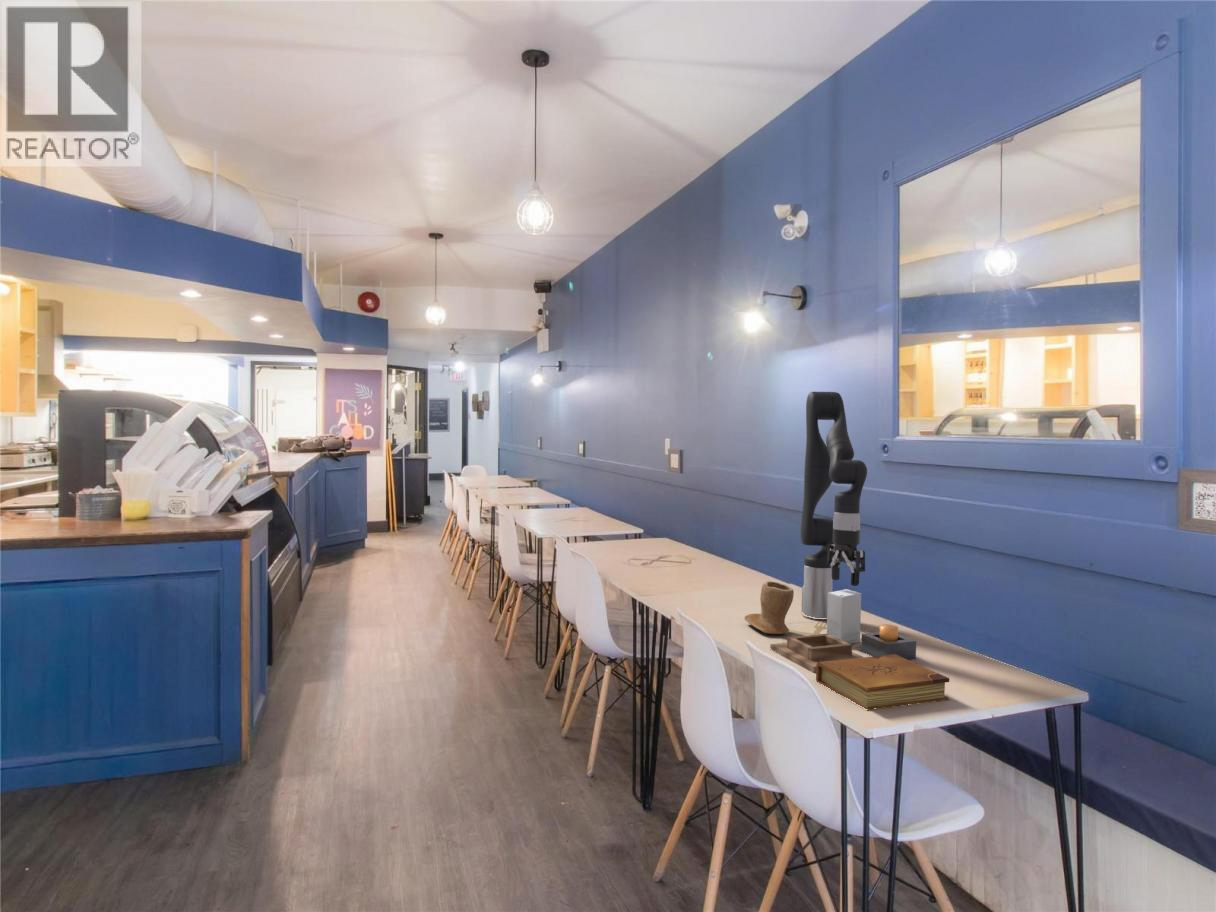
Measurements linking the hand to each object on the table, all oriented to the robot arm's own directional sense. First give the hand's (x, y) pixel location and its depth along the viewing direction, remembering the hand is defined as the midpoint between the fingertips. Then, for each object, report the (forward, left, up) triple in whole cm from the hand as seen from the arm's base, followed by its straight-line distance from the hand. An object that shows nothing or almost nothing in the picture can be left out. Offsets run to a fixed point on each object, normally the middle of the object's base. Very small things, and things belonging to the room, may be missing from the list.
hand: (844, 582), depth 204 cm
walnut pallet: (+10, -16, -18) cm, 26 cm away
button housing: (+14, +4, -18) cm, 23 cm away
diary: (+35, -17, -18) cm, 43 cm away
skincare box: (0, 0, -18) cm, 18 cm away
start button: (+14, +4, -14) cm, 20 cm away
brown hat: (-17, -14, -18) cm, 28 cm away
